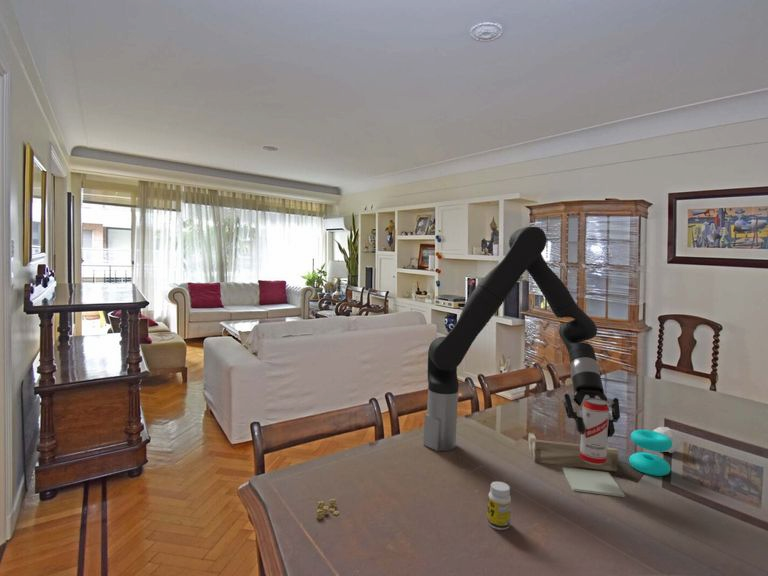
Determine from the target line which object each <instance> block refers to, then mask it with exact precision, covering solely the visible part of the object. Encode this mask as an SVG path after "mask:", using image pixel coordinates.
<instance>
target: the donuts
mask: <svg viewBox="0 0 768 576" xmlns="http://www.w3.org/2000/svg"><path fill="white" fill-rule="evenodd" d="M630 439H631V441H632V443H634V444H635V445H636V446H638V447H640V448H642V449H644V450H647V451H651V452H660V453H663V452H662V451H667V450H669V449H670V448H671V447H672V441H671V439H670V438H669V437H667V436H666V435H664V434H661V433H658V432H655V431H653V430H649V429H635V430H633V431H632V432H631V434H630ZM628 461H629V464H630V465H631V467H632V468H633V469H635V470H637V471H638V472H640V473H643V474H647V475H649V476H656V477H657V476H658V477H663V476H667V475H668V474H670V472H671V465H670V464H669V462H668V461H667V460H666V459H665V458H664V457H661V456H659V455H656V454H653V453H650V452H643V451H642V452H641V451H640V452H635V453H633V454H632V455H630V456H629V459H628Z"/></svg>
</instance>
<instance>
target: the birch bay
mask: <svg viewBox="0 0 768 576" xmlns="http://www.w3.org/2000/svg"><path fill="white" fill-rule="evenodd" d="M535 435H536V434H535V432H528V437H527V446H528V448H529V451H530V454H531V457H532V460H533V461H534V463H540V464H550V465H557V466H558V465H559V466H564V467H566V466H568V467H573V468H575V467H576V468H586V469H594V470H600V471H612V472H618V463H619V449H618V448H617V447H610V446H609V445H608V444H607V458H606V462H605V463H603V464H602V465H591V464H588V463H586V462H584V461H583V459H582V458H581V457H580V444H581V443H570V442H563V441H562V442H561V441H551V440H542V439H537V438H536V436H535Z"/></svg>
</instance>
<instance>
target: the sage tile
mask: <svg viewBox="0 0 768 576" xmlns="http://www.w3.org/2000/svg"><path fill="white" fill-rule="evenodd" d="M561 470H562V473H563V474H564V476H565V479H566V480H567V482H568V484H569V486H570V488H571V490H572V491H573V492H578V493H579V492H580V493H586V494H587V493H588V494H596V495H604V496H613V497H621V498H625V497H626V495H625V493H624V492H623V490H622V489H621V488H620V486H619V485H618V484H617V482H616V481H615V479H614V478H613V477H612V475H611V474H610V472H608V471H602V470H591V469H582V468H575V467H566V466H561Z"/></svg>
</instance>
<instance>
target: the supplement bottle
mask: <svg viewBox="0 0 768 576" xmlns="http://www.w3.org/2000/svg"><path fill="white" fill-rule="evenodd" d="M489 488H490V489H489V492H488V496H487V514H486V520H487V521H486V523H487V524H488V525H489V527H491V528H492V529H494V530H500V531H501V530H502V531H503V530H507V529H508V528H510V525H511V507H512V505H511V504H512V498H511V495H510V494H511V491H510V490H511V488H510V485H509V484H507V483H505V482H502V481H493V482H491V483H490V487H489Z"/></svg>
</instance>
